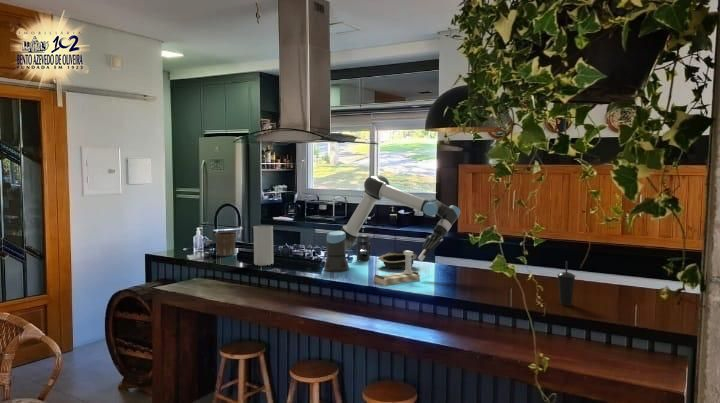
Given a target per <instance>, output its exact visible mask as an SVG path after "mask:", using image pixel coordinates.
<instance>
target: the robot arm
mask: <svg viewBox="0 0 720 403" xmlns="http://www.w3.org/2000/svg"><path fill="white" fill-rule="evenodd" d="M363 187H364V191H363V192H364V195H363V197H362V199H361V200H360V202H359V204H358V205H357V206H356V209H355V210H354V211H353V213H352V215H351V217H350V219H349V220H348V222H347V223H346V225H345V224H344V225H343V226H342V227H341V229H340V230H334V231H329V232H328V233H327V234H326V260H325V263H324V267H323V269H324V271H325V272H330V273H331V272H332V273H338V272H340V273H341V272H346V271H349V266H350V265H349V263H348V259H347V257H346V256H347V254H346V253H347V252H346V251H347V250H351V249H352V248H354V246H356V245H357V242H358V239H357V237H358V236H359V235H360V234H359V231H360V230H361V229H362V228H361V227H363V224H365V221H366V220H367V218H368V216H369V215H370V213H371V211H372V209H373V208H374V206H376V203H377V202H379V201H381V199H382V198H385V199H387V200H389V201H392V202H395V203H397V204H401V205H403V206H405V207H408V208H411V209H414V210H416V211H419V212H421V213H422V214H425V216H429V217H433V216H435V215H437V216H439V217H440V218H441V219H440V220H439V221H438V222H437V223H436V225H435V227H434V228H433V232H432V233H431V234H430V235H429V234H427V235H426V239H425V240H424V242H423V245H422V246H421V248H422V251H421V252H420V254H419V256H417V259H418V260H419V262H423V260H424V259H425V258H426V257H427V255H428V254H429V253H430V252H432V253H433V251H434V250H435V249H437V247H438V246H439V245H441V243H442V242H444V240H445V239H444V237H445V236H446V235H447V233H448V232H449V231H450V229H451V228H452V226H453V225H454V223H455V222H457V220H458V218H459V216H460V215H461V210H460V209H459V207H458V206H456V205H453V204H452V205H449V206H448V205H446V204H445V203H443V202H441V201H439V200H438V199H436V198H434V197H431V198H429V200H428V199H426V198H422V197H420V196H417V195H415V194H411V193H410V192H407V191H404V190H401V189H398V188H397V187H394V186H391V185H390V182H389V179H388V178H387V177H385V176H383V175H371V176H369V177H367V178H366V179H365V181H364V183H363Z"/></svg>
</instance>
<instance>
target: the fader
mask: <svg viewBox="0 0 720 403" xmlns="http://www.w3.org/2000/svg"><path fill="white" fill-rule="evenodd" d="M403 252H404V255H405V266H404V267H405V270H403V272H404V273H405V274H413V271H414V270H412V266H411V255H413V253H414V251H411V250H407V249H406V250H403ZM411 270H412V271H411Z"/></svg>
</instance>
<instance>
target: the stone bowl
mask: <svg viewBox="0 0 720 403" xmlns="http://www.w3.org/2000/svg"><path fill="white" fill-rule="evenodd" d="M417 258H418V254H416V253H415V252H413V255H411V267H413V264H414V260H416V259H417ZM377 259H378V260H380V261H381V262H382V263H383V265H384V267H385V268H387V269H390V270H394V269H398V268H403V267H405V255H404V250H403V251H402V250H393V251H388V252H387V253H386V254H382V255H381V256H378V257H377Z"/></svg>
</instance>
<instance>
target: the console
mask: <svg viewBox="0 0 720 403" xmlns="http://www.w3.org/2000/svg"><path fill="white" fill-rule="evenodd" d="M411 271H413V274H405V273H404V271H403V272H398V273H397V272H396V273H389V274H383V275H380V274H379V275H378V274H374V276H373V282H374V283H376V284H380V285H383V286H389V285H390V286H391V285H395V284H402V283H409V282H417V281H420V275H421V274H419V271H414V270H412V269H411Z"/></svg>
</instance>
